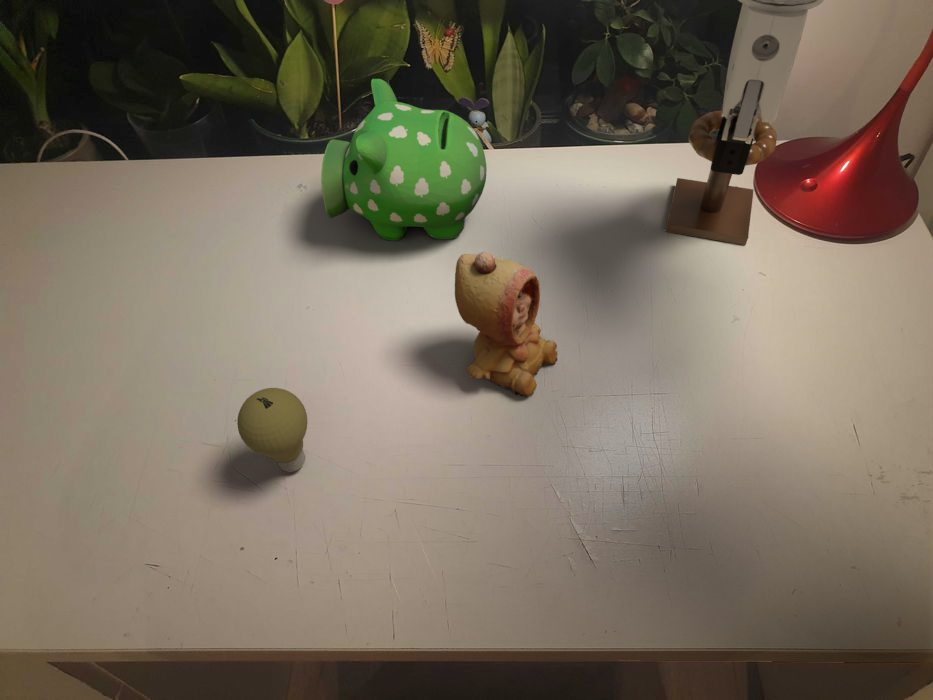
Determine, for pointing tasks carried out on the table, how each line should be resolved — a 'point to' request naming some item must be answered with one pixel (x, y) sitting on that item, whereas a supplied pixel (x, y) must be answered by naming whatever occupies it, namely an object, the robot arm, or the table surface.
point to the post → (711, 209)
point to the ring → (707, 145)
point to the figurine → (502, 321)
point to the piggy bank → (405, 169)
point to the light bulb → (274, 426)
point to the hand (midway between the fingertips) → (727, 161)
